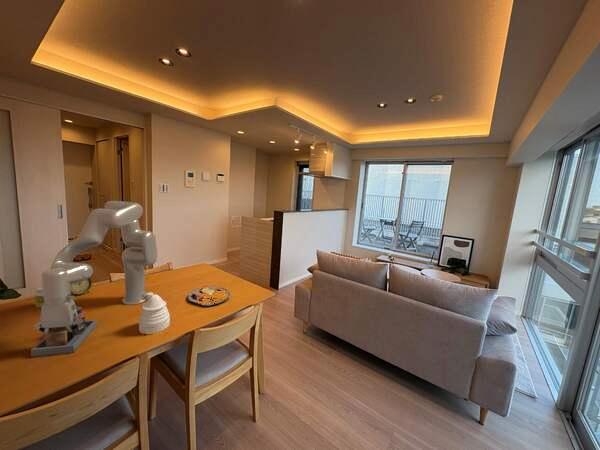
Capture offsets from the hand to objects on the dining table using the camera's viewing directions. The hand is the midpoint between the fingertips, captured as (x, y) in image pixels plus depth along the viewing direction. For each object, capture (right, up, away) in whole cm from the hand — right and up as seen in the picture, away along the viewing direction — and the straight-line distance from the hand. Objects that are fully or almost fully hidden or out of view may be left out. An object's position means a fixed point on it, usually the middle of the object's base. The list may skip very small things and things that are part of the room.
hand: (60, 339), depth 98 cm
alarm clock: (-32, +6, +43) cm, 54 cm away
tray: (-2, -2, +5) cm, 5 cm away
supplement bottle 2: (-2, -1, +9) cm, 10 cm away
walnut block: (0, -1, 0) cm, 1 cm away
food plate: (+41, +1, +53) cm, 67 cm away
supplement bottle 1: (-38, +4, +29) cm, 48 cm away
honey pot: (+27, -3, +19) cm, 33 cm away
